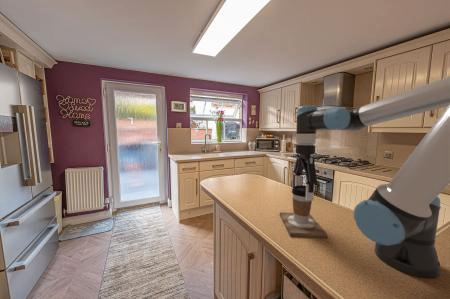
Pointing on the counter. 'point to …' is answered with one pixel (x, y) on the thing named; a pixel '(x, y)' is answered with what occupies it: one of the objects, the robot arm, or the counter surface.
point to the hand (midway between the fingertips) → (303, 194)
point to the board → (302, 227)
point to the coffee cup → (301, 205)
